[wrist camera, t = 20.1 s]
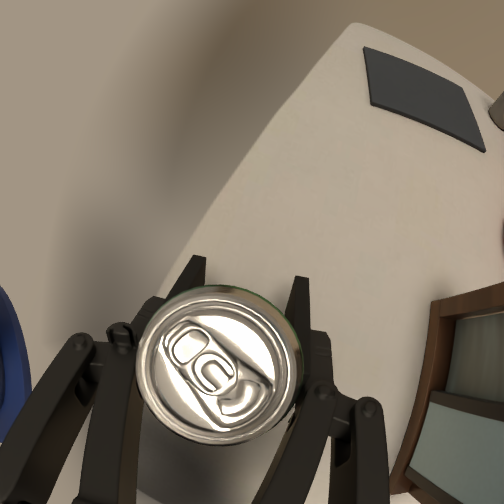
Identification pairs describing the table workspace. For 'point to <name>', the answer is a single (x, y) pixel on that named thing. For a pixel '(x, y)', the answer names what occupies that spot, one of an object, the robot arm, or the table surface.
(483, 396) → the window frame
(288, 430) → the robot arm
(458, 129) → the mat
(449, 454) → the window pane
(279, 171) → the table surface
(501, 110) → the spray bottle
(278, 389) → the soda can
